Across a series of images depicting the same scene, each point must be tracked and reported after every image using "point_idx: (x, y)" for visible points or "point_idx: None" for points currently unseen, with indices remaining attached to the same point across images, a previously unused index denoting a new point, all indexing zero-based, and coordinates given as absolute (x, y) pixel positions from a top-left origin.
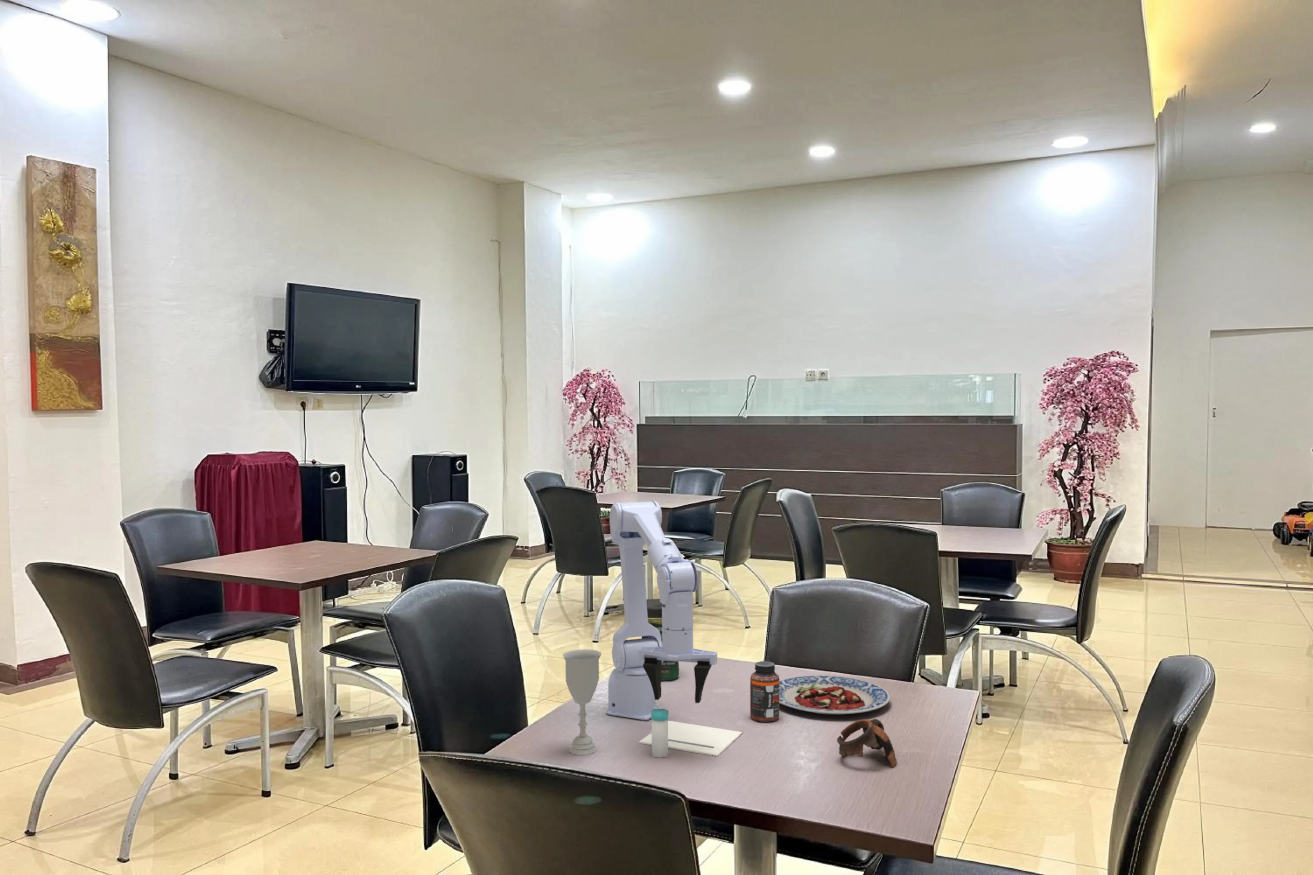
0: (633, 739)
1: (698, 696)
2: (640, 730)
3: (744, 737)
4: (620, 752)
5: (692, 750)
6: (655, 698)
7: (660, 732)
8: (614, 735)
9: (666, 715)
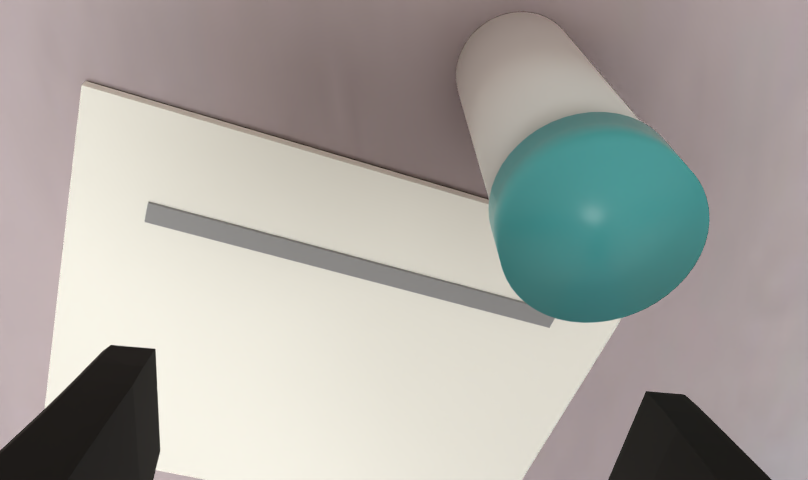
0: (690, 300)
1: (63, 394)
2: None
3: (13, 395)
4: (803, 78)
5: (284, 144)
6: (688, 403)
7: (548, 73)
8: (802, 343)
9: (516, 176)
